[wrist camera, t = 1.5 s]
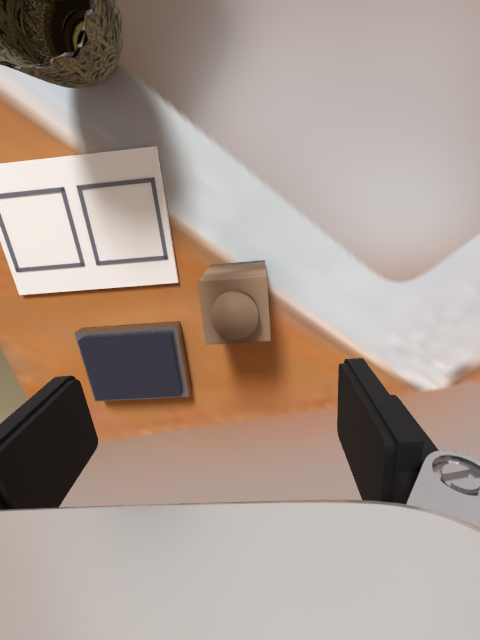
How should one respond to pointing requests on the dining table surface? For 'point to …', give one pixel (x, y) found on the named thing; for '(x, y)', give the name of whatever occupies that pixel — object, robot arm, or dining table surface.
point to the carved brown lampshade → (61, 39)
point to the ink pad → (135, 361)
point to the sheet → (86, 222)
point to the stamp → (235, 303)
